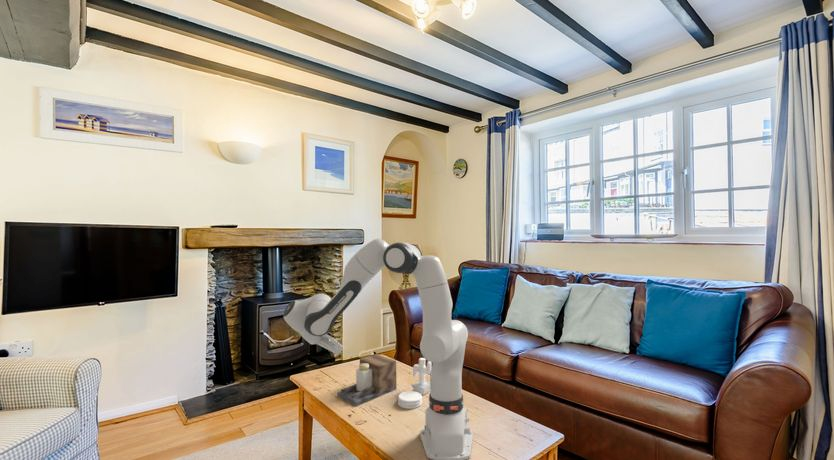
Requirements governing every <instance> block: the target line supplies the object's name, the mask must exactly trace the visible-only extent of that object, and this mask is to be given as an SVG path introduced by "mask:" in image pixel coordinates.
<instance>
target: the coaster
mask: <svg viewBox="0 0 834 460" xmlns="http://www.w3.org/2000/svg"><path fill="white" fill-rule="evenodd" d="M397 401H398V402H397V404H398V406H399V407H400V408H402V409H407V410H411V409H412V410H414V409H417V408H420V407H421V406H422V404H423V395H422V394H420V393H418V392H416V391H415V390H407V391H406V390H405V391H402V392H400V393H399V394H398V396H397Z"/></svg>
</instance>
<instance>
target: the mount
mask: <svg viewBox="0 0 834 460" xmlns="http://www.w3.org/2000/svg"><path fill="white" fill-rule="evenodd" d="M362 363H368V364H369V368H370V369H372V387H370V388H368V389H365V390H363V391H358V390H356V383H355V384H353V385H350V386H348V387H344V388H341V389H340V391H338V392H336V395H337V397H338V398H340V399H342V400H344V401H345V402H348V403H350V404H351V405H354V406H356V407H358V406H360V405H363V404H365V403H368V402H370V401H373V400H375V399H377V398H380V397H381V396H384V395H386V394H389V393H391V392H394V391H396V390H397V360H396V359H392V358H389V357H387V356H383V355H381V354H378V353H375V354H372V355H369V356H366V357H362V358H360V359H359V365H360V364H362Z"/></svg>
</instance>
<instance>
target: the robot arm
mask: <svg viewBox="0 0 834 460" xmlns="http://www.w3.org/2000/svg"><path fill="white" fill-rule="evenodd" d="M384 268H386V269H387V270H389V271H390V272H392V273H396V274H406V275H410V274H411V275H412V276H413V277H414V279H415V282H416V287H417V290H418V291H417V292H418V296H419V301H420V306H421V309H422V310H421V311H422V334H421V335H422V336H421V340H420V343H419V349H420V353H421V355H422V358H425V359H426V360H425V361H427V362H431V363H432V365H431V372H430V374H429V376H430V377H429V379H430V381H429V382H430V391H429V395H428V405H429V406H428V407H427V408H426V409H425V411H424V413H425V417H424V421H425V422H424V428H423V429H420V431H419V436H420V440H421V444H422V446H423V449H424V453H425V455H426V458H428V459H430V460H468V459H470V458H471V456H472V455H471V454H472V448H473V447H472V446H473V439H474V431H473V430H472V429H471V427H470V426H468V423H469V421H470V419H469V417H468V410H467V409H466V407H464V395H463V392H462V389H463V387H462V385H463V383H462V381H463V380H462V378H463V377H462V376H463V375H462V374H463V366H464V365H463V364H464V359H465V354H466V353H465V351H466V344H467V340H468V337H469V331H468V327H467V326H466V325H465V324H464V323H463V322H462V321H460V320H458V319H452V312H453V311H452V310H453V306H454V305H453V299H452V295H451V291H450V286H449V283H448V278H447V275H446V271H445V269H444V267H443V263H442V262H441V259H440V258H439V257H437V256H435V255H432V254H431V255H430V254H429V255H428V254H427V255H423V252H422V251H421V249H420V248H419V246H417V245H415V244H413V243H410V242H405V241H401V242H394V243H392V244H389V243H388V242H387V241H385V240H384V239H381V238H375V239H373V240H371V241H370V242H368V243H367V244H365V245H364V246H363V247H362V248H360V249H359V250H358V251H356V253H355V254H354V255H353V256H352V257H351V258H350V259H349V261H348V262H347V263H346V265H345V266H344V271H343V275H342V278H341V279H342V280H341V283H340V286H339V287H338V290H337V292H336V293H335V295H333V297H330V295H328V294H326V293H321V292H320V293H319V292H318V293H315V294H313V295H312V296H311V297H308V298H305V299H302V300H298V299H297V300H292V301H291V302H290V303H288V304H287V306H286V307H285V309H284V310H283V316H282V317H283V319H284V321H285V322H286V324H287V325H288V326H289V327H291V329H292V330H294V331H295V332H297V333H299V334H300V336H301V337H302V338H303V339H304V340H305V341H306V342H308V343H309V345H318V346H320V347H322V348H324V349H326V350H328V351H330V352H331V353H333V354H335V355H338V356H339V355H340V354H341V353H342V352H343V349H344V346H343V345H342V344H341V343H340V342H339V341H338V340H337V339H335V338H334V337H332V336H331V335H329V333H331V331H332V329H333V327H334V326H335V322H336V321H337V319H338V318H339V317H340V316H341V315H342V314H343V313H344V312H345V310H347V308H348V307H349V306H350V305H351V304H352V303H353V302H354V300H355V299H356V298H357V297H358V295H359V294H360V293H361V292H362V290H364V288H365V287H366V286H367V284H368V283H369V282H370V281H371V280H373V278H374V277H375V276H376V275H377V274H378V273H379V272H380V271H381V270H382V269H384Z"/></svg>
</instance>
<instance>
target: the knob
mask: <svg viewBox="0 0 834 460" xmlns="http://www.w3.org/2000/svg"><path fill="white" fill-rule="evenodd" d="M355 370H356V371H355V373H356V375H355V377H356V378H355V379H356V380H355V381H356V382H355V384H356V390H358V391H363V390H365V389H368V388H370V387H372V369H370V368H369V364H368V363H362V364H360V363H359V365H358V368H357V369H355Z"/></svg>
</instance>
